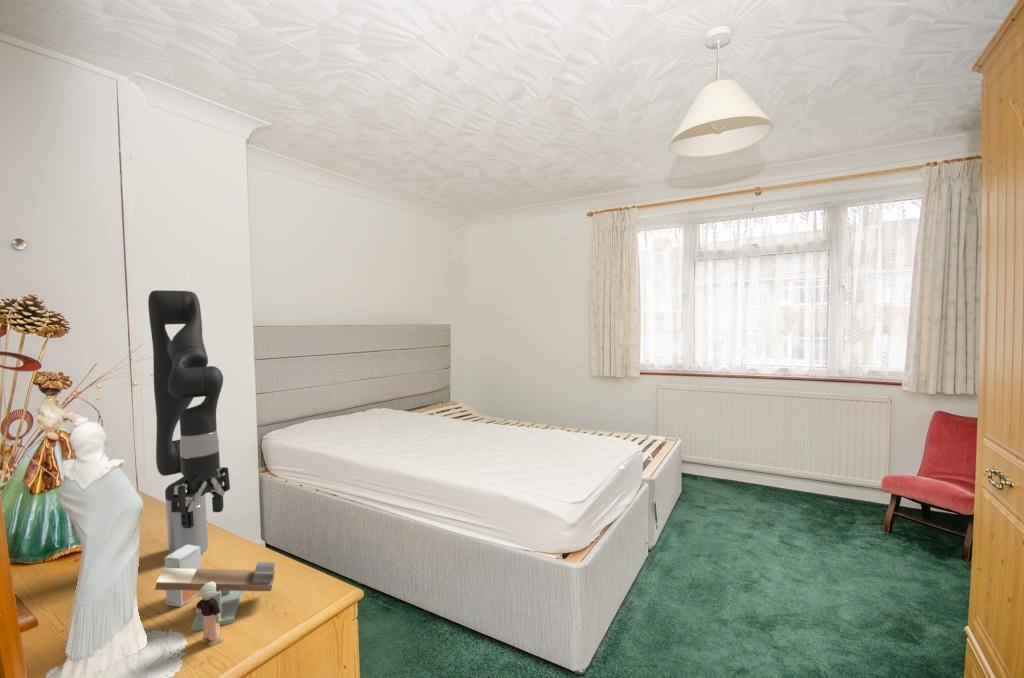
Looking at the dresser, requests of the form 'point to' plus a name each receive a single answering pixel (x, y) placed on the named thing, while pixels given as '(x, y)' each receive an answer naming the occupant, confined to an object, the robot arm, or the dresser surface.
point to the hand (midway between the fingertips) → (203, 519)
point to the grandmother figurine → (210, 614)
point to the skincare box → (189, 560)
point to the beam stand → (221, 608)
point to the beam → (218, 578)
